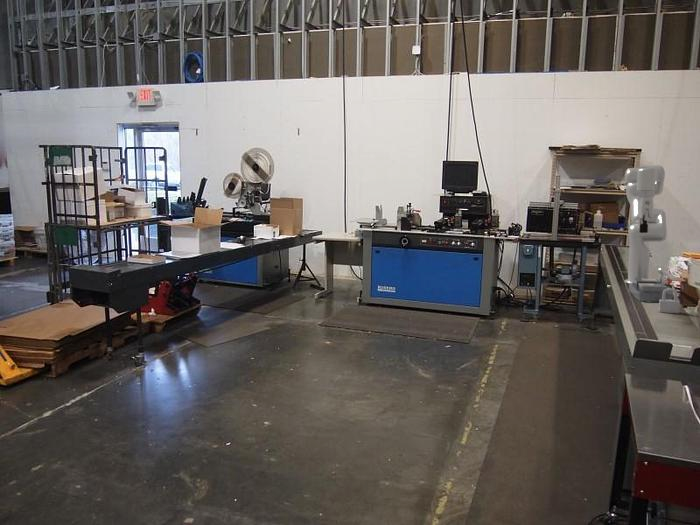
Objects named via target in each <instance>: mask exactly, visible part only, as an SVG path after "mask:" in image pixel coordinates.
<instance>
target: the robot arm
mask: <svg viewBox="0 0 700 525" xmlns="http://www.w3.org/2000/svg"><path fill="white" fill-rule="evenodd" d="M665 177H666V172H665V168H664V167H663V166H662V165H659V164H657V165H640V166H636V167H629V168H627V169H626V170H625V174H624V179H625V182H626V188H625V193H626V198H627V202H629V203H628V204H629V206H630V219H631V223H632V224H631V225H630V226H629V227H628V230H627V231H628V232H627V233H628V234H627V235H628V243H629V246H628V247H629V249H628V250H629V252H628V271H627V278H626V279H625V280H624V283H625V284H627V285H629V282H632V283H634V278H638V279H650V278H649V275H650V256H651V251H650V248H649V246H648V245H647V244H646V242H647V243H650V242H651V243H659V242H664V241H665V240H666V238H667V235H668V232H667V231H668V230H667V229H668V228H667V218H666V217H667V216H666V212H665V211H664V209H662V208H653V207H654V205H653V204H654V203H653V200H654V199H653V198H655V196H660V195H661V194H662V193H663V190H664V183H665Z"/></svg>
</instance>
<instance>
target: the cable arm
mask: <svg viewBox="0 0 700 525" xmlns="http://www.w3.org/2000/svg"><path fill="white" fill-rule="evenodd" d="M657 269H658V270H657V273H658V280H659V281H660V282H661V284H664V285H665V277H667V278H668V279H669V280H671V281H675V282H676V281H678V278H677V277H676V276H674V275H673V274H672V273H670V272H669V271H667V268H666V267H665V268H664V267H658V268H657Z"/></svg>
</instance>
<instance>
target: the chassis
mask: <svg viewBox="0 0 700 525" xmlns="http://www.w3.org/2000/svg"><path fill="white" fill-rule="evenodd" d="M665 289H668V286H666V284H665V283H664V284H661V282H660V281H659V278H649V279H638V278H634V283H632V282H629V284H628V291H629V292H630V293H631V294H632V295H633V297H635V299H636V298H637V299H638V300H639V301H650V302H649V303H659V300H660V299H662V294H663V291H664V290H665ZM637 299H636V300H637ZM666 299H667V300H673V293H672V291H667V292H666V295H665V300H666ZM638 300H637V301H638ZM639 301H638V302H639Z"/></svg>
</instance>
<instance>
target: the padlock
mask: <svg viewBox="0 0 700 525" xmlns="http://www.w3.org/2000/svg"><path fill="white" fill-rule="evenodd" d="M667 291H669V292H671V293H672V292H673V294H674V295H673V299H672V300H667V299H666V300H665V295H666V292H667ZM680 303H681V302H680V300H679V299H678V291H677V290H676V289H675V288H668V287H667V289H665V290H664V291H663V294H662V299H660V300H659V302H658V305H659V306H658V311H659V313H666V314H667V313H669V314H680V305H681V304H680Z"/></svg>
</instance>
